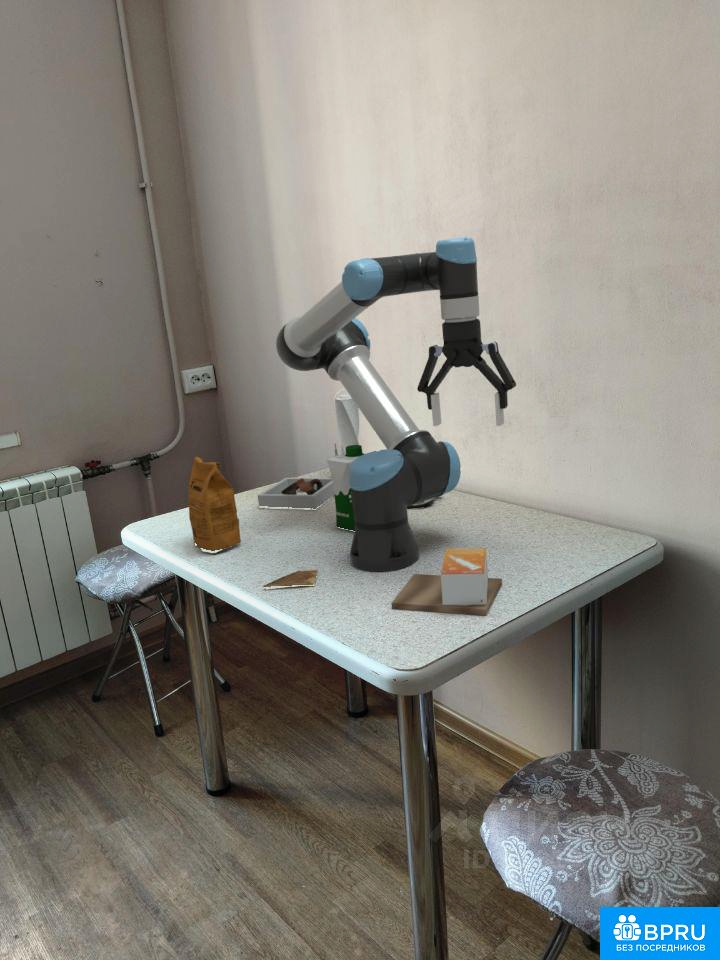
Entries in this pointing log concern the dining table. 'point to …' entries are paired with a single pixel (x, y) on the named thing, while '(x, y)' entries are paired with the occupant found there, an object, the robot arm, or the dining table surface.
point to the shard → (295, 579)
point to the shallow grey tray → (277, 499)
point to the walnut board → (438, 596)
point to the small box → (464, 577)
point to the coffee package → (212, 508)
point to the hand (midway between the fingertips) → (468, 424)
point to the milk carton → (344, 485)
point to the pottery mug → (303, 487)
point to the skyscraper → (346, 421)
